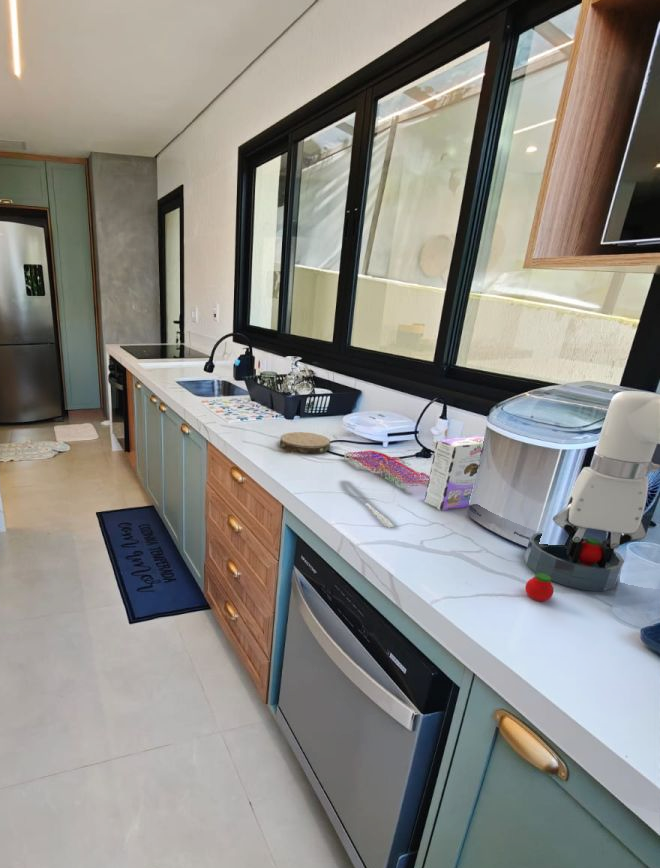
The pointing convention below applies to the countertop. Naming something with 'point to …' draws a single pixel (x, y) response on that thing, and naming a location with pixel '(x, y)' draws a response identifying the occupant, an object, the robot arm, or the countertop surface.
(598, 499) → the robot arm
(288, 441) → the wooden disc
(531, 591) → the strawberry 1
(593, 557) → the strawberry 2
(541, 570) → the bowl
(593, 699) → the countertop surface
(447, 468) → the candy box
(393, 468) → the speckled fish figure
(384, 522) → the butter knife
